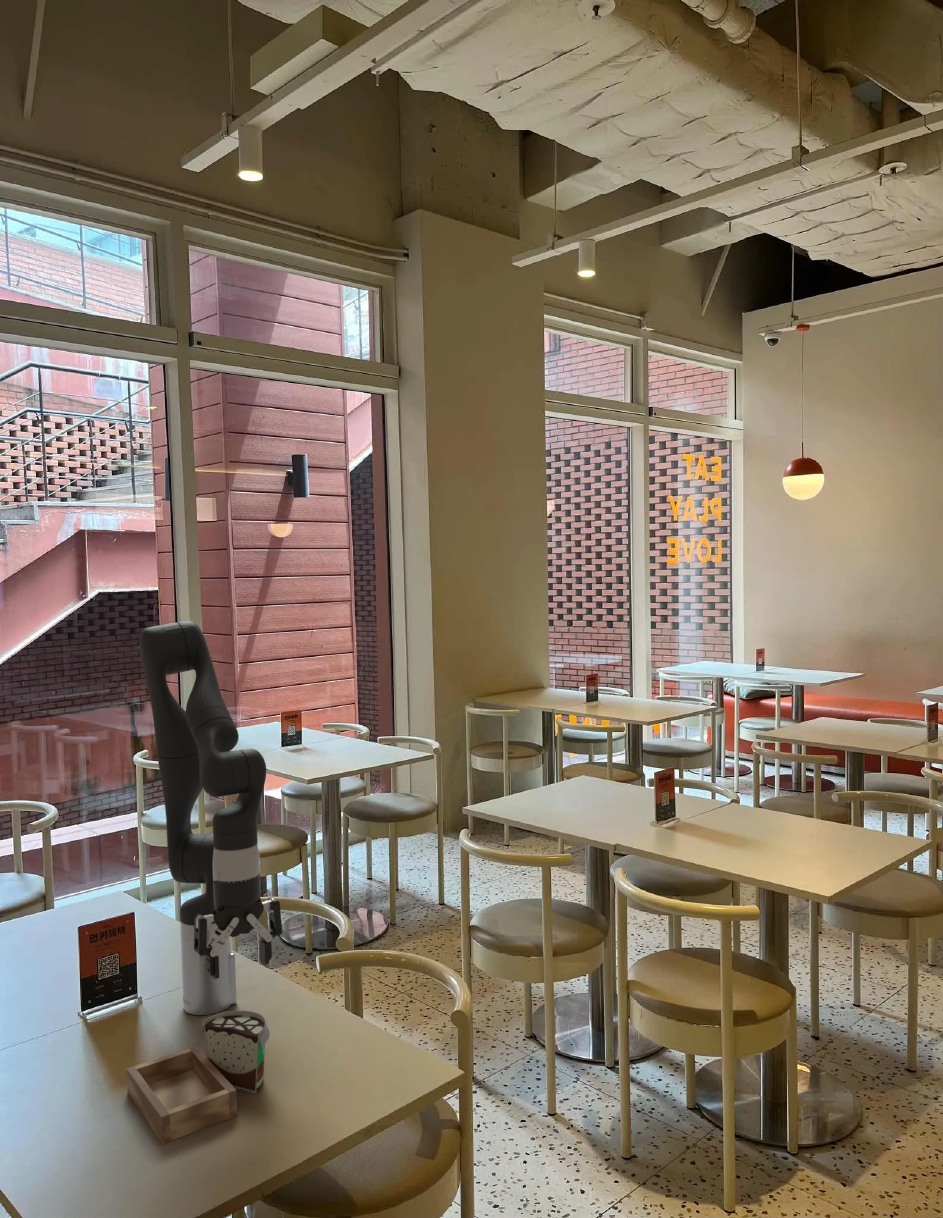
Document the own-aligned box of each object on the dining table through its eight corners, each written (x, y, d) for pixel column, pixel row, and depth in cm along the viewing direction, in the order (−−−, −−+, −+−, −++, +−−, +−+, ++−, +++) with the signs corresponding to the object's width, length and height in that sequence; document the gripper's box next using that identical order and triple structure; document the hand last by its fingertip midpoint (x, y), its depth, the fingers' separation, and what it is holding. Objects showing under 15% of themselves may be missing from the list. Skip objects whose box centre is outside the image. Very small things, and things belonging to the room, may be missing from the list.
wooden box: (197, 1069, 156) (196, 1046, 156) (237, 1115, 142) (236, 1090, 142) (127, 1093, 149) (126, 1068, 149) (162, 1144, 135) (161, 1117, 135)
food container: (286, 1076, 153) (284, 1016, 152) (263, 1095, 147) (261, 1033, 147) (227, 1061, 158) (225, 1004, 158) (202, 1079, 152) (200, 1020, 152)
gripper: (268, 858, 159) (271, 952, 159) (185, 875, 150) (189, 974, 151) (286, 868, 153) (289, 966, 153) (202, 887, 144) (205, 990, 145)
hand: (240, 970), depth 152 cm, fingers open, 8 cm apart
